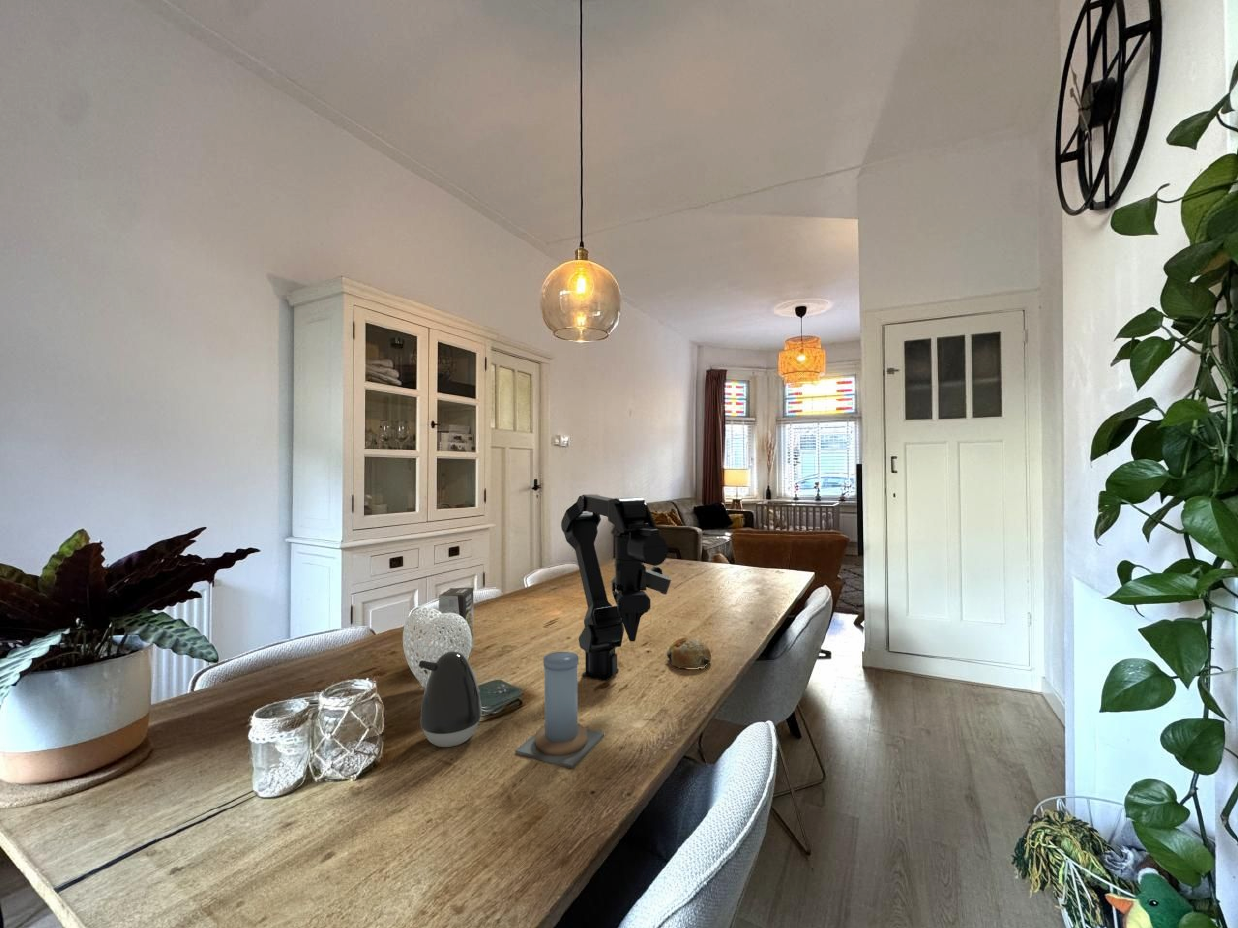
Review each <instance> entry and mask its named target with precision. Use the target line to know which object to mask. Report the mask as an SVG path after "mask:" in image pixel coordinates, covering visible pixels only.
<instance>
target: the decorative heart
mask: <svg viewBox="0 0 1238 928" xmlns="http://www.w3.org/2000/svg"><path fill="white" fill-rule="evenodd" d="M454 616H455V617H454ZM456 619H457V620H456ZM442 622H443V623H442ZM451 623H452V624H451ZM454 625H455V626H454ZM462 626H463V627H462ZM439 627H440V629H439ZM442 627H444V628H445V629H444V630H443V629H442ZM449 627H450V628H449ZM454 628H455V629H454ZM459 628H460V629H461V631H459ZM451 629H452V630H453V632H452V631H451ZM447 630H448V631H449V633H448V631H447ZM440 631H441V634H440ZM456 633H457V634H456ZM452 635H453V636H452ZM457 635H459V637H457ZM454 636H455V638H453V637H454ZM444 637H445V641H444ZM439 638H441V639H440V640H439ZM447 639H448V640H447ZM450 639H452V641H453V643H452V644H451V643H450ZM455 641H456V643H457V644H456V645H455ZM463 644H464V646H463ZM471 646H472V635H471V630H470V628H469V625H468V623H467V622H466V620H465V619H464V618H463V617H462V616H460V615H458V614H455V613H444V614H442V613H441V612H439V609H436V608H432V607H426V606H425V607H420V608H417V609H415V610H414V611H413V612H411V614H409V616H408V618H407V619H406V620H405V622H404V627H403V632H402V647H403V652H404V656H405V660H406V662H407V664H408V666H409V668H410V670H411V672H412V674H413V675H414V677H415V679H416V680H417V681H418V682H419V683H420V687H422V688H423V687H424V689H425V688H426V684H427V681H428V678H429V676H430V674H431V671H430V670H428V669H425V668H422V667H419V662H420V661H421V660H422V661H428V662H434V663H436V662H437V660H438V659H439V658H440V657H441V656H442V655H443V654H445V653H447V652H451V651H455V652H459V653H461V654H463V655H464V656H465V658H466V659H467V660H468V661H469V657H470V655H471V652H472V650H471ZM457 649H458V650H457ZM425 671H426V672H427V673H426V672H425Z"/></svg>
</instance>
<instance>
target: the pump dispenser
mask: <svg viewBox="0 0 1238 928" xmlns="http://www.w3.org/2000/svg"><path fill="white" fill-rule="evenodd" d="M419 667H420V668H421V669H423V668H425V669H428V670H430V671H431V674H430V676H429V678H428V681H427V684H426V688H425V687H424V692H423V697H422V702H421V709H420V718H419V719H420V728H421V729H422V730H423V731H422V732H423V734H424V736H425V738H426V739H427V740H428V742H429V743H431V744H432V745H434V746H437V747H439V748H440V747H441V748H451V747H452V748H453V747H457V746H459V745H461V744H463V743H465V742H467V741H468V740H469V739H470V738H472V736H473V735H474V734H475V732H476V730H477V728H478V726H479V723H480V720H481V718H482V714H483V713H482V702H481V694H480V690H479V684H478V680H477V679H476V676H475V673H474V670H473V668H472V666H471V664H470V662H469V659H468V660H467V659H466V658H465V656H464V655H463V654H461V653H459V652H455V651H451V652H447V653H445V654H443V655H442V656H441V657H440V658H439V659H438V660H437V662H436V663H434V662H428V661H422V660H421V661H420V662H419Z"/></svg>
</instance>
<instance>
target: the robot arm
mask: <svg viewBox="0 0 1238 928" xmlns="http://www.w3.org/2000/svg"><path fill="white" fill-rule="evenodd" d="M601 516H602V517H607V521H608V522H609V523H611V524H612V525H613V526H614V527H613V528H612V529H611V531H610V533H611V535H613V536H615V537H614V541H615V542H614V545H615V549H614V552H615V553H614V555H615V557H614V558H615V559H614V560H615V561H614V568H615V571H614V572H615V576H614V578H613V579H612V580H611V591H612V596H613V599H614V600H615V604H616V605H613V604H611V603H610V602H609V600H608V596H607V591H606V587H605V583H604V579H603V575H602V571H601V568H600V567H601V566H600V562H599V558H598V555H597V550H596V546H595V541H596V538H597V535H598V531H599V530H598V526H599V524H600V523H601V521H602V517H601ZM560 526H561V531H562V532H563V535H564V538H565V541H566V542H567V543H568V544H569V546H570V547H571V548H573V550H574V551H575V556H576V560H577V565H578V568H579V569H578V570H579V574H580V577H581V579H580V580H581V582H582V583H581V584H582V587H583V591H584V596H585V600H586V605H587V610H586V614H585V616H584V619H583V622H584V623H583V624H584V628H583V629H582V631H581V633H580V635H579V637H578V643H579V648H580V649H582V650H583V652H585V654H584V655H585V660H584V661H585V671H584V672H583V673H582V674H581V676H582V677H583V678H589V679H595V680H599V681H604V682H607V681H609V680H611V678H612V677H614V676H615V675H616V674H617V673H618V672H620V671H619V670H620V669H619V668H618V654H617V653H616V648H620V647H621V646H622V643H623V638H624V632H625V633H626V635H627V638H628V640H629V642H635V641H636V638H637V634H638V630H639V627H640V626H639V625H640V622H641V618H642V616H643V615H645V613H648V612H649V611H650V610H651V598H650V596H649V595H648V594H647V593H646V592H645V591H647V588H648V589H651V590H653V591H656V592H659V593H660V594H662V595H667V593H668V590H669V588H670V584H671V581H672V579H671V578H670V577H669V576H667V575H666V574H663V569H662V567H660V565H662V564H663V563H664V562H665V560H666V559H667V556H668V555H669V546H668V543H667V542H666V540H665V539H664V538H663V536H660V529H657V527H656V521H655V519H654V518H653V516H652V513H651V511H650V508H649V505H648V504H647V503H646V500H645V499H644V498H643V497H639V496H638V497H637V496H636V497H635V496H634V497H617V498H616V497H615V498H612V497H607V496H603V495H599V494H596V493H591V494H590V493H589V494H582V495H579V496H578V498H577V499H576V502H575V503H574V504H572V505H571V506H570V507H569V508H567V509H566V511H565V512H564V515H563V517H562V519H561V522H560ZM646 565H650V566H652V568H650V569H647V567H646Z"/></svg>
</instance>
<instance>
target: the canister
mask: <svg viewBox="0 0 1238 928" xmlns="http://www.w3.org/2000/svg"><path fill="white" fill-rule="evenodd" d="M542 659H543V662H542V663H543V665H542V666H543V667H544V726H545V738H546V739H547V740H549V741H551V742H556V743H563V742H568V741H571V740H573V739H574V738H576V736H577V734H578V724H579V721H578V714H579V713H578V704H579V703H578V665H579V655H578V654H577V653H575V652H572V651H555V652H550V653H548V654H546V655H544V656H543V657H542Z"/></svg>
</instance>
